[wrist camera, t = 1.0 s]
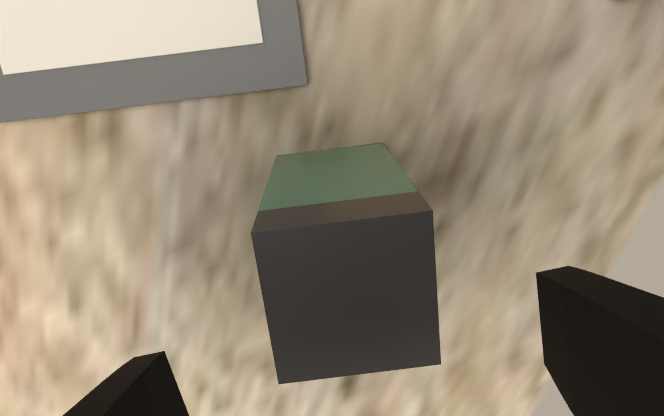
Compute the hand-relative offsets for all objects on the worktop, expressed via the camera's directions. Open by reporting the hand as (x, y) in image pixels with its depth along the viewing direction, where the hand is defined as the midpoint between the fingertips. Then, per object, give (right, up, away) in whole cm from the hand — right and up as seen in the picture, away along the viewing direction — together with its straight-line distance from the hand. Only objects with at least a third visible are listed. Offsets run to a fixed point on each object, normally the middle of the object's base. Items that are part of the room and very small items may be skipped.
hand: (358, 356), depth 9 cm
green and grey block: (0, +3, +10) cm, 10 cm away
